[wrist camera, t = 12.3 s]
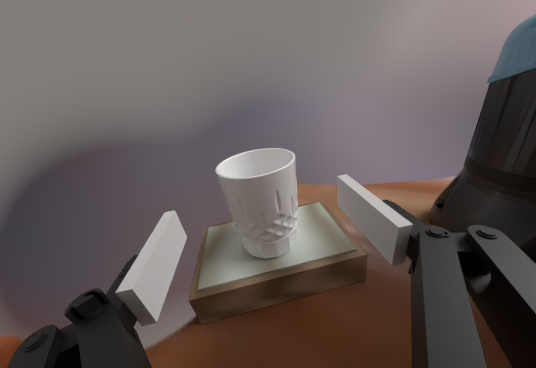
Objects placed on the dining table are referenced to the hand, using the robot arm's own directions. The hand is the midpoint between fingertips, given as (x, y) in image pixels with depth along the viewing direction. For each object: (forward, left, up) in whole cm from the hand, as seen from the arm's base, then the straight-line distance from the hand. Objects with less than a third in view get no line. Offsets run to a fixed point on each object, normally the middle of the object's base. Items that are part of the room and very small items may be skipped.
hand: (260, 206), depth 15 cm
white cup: (0, -5, -8) cm, 9 cm away
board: (-1, -5, -12) cm, 13 cm away
